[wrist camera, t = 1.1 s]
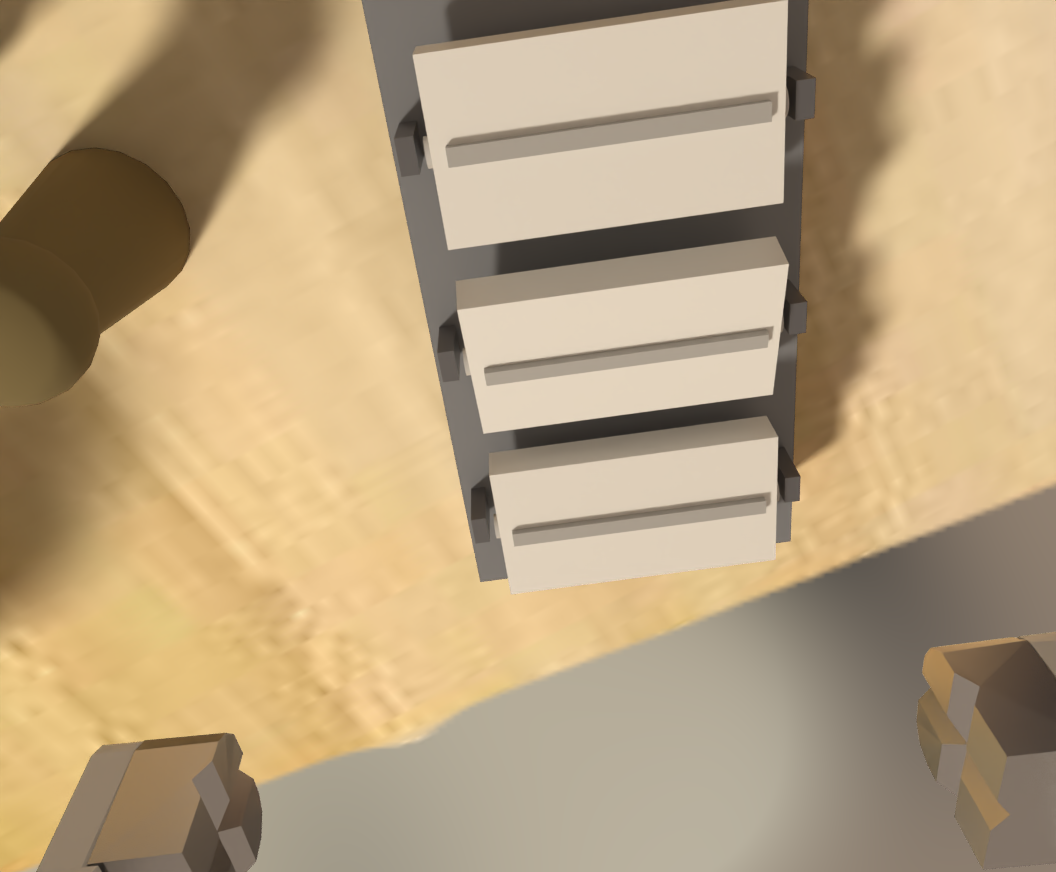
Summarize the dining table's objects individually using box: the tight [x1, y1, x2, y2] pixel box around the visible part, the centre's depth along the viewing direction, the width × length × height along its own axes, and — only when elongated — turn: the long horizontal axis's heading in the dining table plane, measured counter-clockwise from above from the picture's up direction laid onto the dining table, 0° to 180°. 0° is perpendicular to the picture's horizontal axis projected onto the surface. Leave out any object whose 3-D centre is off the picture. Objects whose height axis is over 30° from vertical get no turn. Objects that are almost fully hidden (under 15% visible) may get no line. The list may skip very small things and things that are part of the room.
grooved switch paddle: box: [489, 416, 780, 594], centre depth 36 cm, size 6×11×2 cm, turn 97°
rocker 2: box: [456, 236, 789, 434], centre depth 32 cm, size 6×11×2 cm, turn 97°
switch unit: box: [362, 0, 816, 582], centre depth 35 cm, size 24×14×6 cm, turn 7°
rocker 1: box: [413, 0, 789, 250], centre depth 28 cm, size 6×11×2 cm, turn 97°
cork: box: [0, 148, 190, 407], centre depth 30 cm, size 6×6×11 cm
